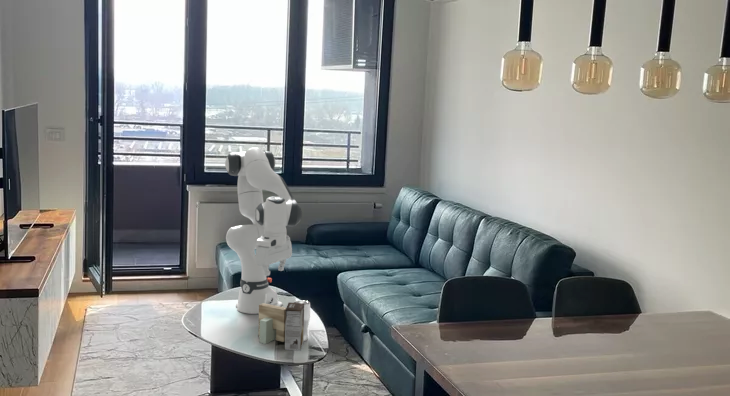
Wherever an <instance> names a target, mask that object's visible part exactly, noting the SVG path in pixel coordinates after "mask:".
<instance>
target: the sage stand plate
mask: <svg viewBox="0 0 730 396" xmlns="http://www.w3.org/2000/svg"><path fill="white" fill-rule="evenodd" d="M258 337H259V338H258V339H259V342H260V344H264V345H266V344H269V343H270V342H272V341H274V340H275V341H276V329H273V319H272V318H267V317H266V318H264V319H262V320H260V335H259V336H258Z"/></svg>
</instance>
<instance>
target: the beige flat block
mask: <svg viewBox="0 0 730 396" xmlns="http://www.w3.org/2000/svg"><path fill="white" fill-rule="evenodd" d="M286 308H287V307H284V306H275V305H270V304H265V303H263V304H260V305H259V313H258V329H257V330H258V334H257V336H258V337H259V335H260V320H262V319H264V318H266V317H267V318H272V319H273V329H276V339H275V341H277V342H282V343H285V321H286Z"/></svg>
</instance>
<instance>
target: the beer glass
mask: <svg viewBox="0 0 730 396" xmlns="http://www.w3.org/2000/svg"><path fill="white" fill-rule="evenodd" d="M293 303H304V337H303V343H304V342H307V341H308V340H309V334H308V333H309V332H308V331H309V325H310V320H311V319H310V318H311V302H310V301H308V300H295V301H293Z"/></svg>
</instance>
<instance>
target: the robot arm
mask: <svg viewBox="0 0 730 396" xmlns="http://www.w3.org/2000/svg"><path fill="white" fill-rule="evenodd" d="M224 163H225V164H224V165H225V166H224V167H225V169H226V171H227V174H228V175H230V176H234V177H237V184H236V185H237V198H238V199H237V200H238V209H239V213H240V214H241V215H242V216H244V217H245V218H247V219H249V220H250V221H251V222H252V224H240V225H234V226H231V227H230V228H229V229H228V230H227V231H226V235H225V241H226V244H227V246H228V247H229V248H230V249H231V250H232V251H234V252H235V253H236V255H237V256H238V258H239V260H240V265H241V266H240V267H241V278H240V282H239V284H240V288H239V290H238V298H237V303H236V305H235V307H236V308H237V309H236V310H237V311H238V312H240V313H242V314H249V315H251V314H252V315H254V314H256V315H257V314H258V315H259V305H260V304H263V303H265V304H270V305H275V306H280V307H282V306H283V302H282V301H280V300H278V292H277V291H275V290H274V289H273V288H272V287H270V283H272V280H273V278H272V277H269V276H271V270H270V265H272V264H276V263H278V262H279V265H278V267H277V268H278V269H277V270H278V271H280V272H282V271H284V270H285V265H286V262H287V259H290V258H291V257H292V255H293V246H292V241H291V237H290V236H289V235H288V234H287V232H288V231H287V227H296V226H297V225H298V224H299V223H300V222H301V220H302V218H303V212H302V207H301V206H300V204H299V203H298V201H296V199H295V198H294V196H293V194H292V192H291V189H290V188H289V187H288V184H287V183H286V181H285V179H284V178H283V177H282V176H281V175H279V174H278V173H276V171H274V170H275V167H276V158H275V155H274V153H272V151H269V150H263V149H262V148H261V147H260V148H259V147H255V146H253V147H250V148H248V149H246V151H238V152H236V151H234V152H229V153H228V154H227V156H226V158H225V162H224ZM263 191H268V192H271V193H274V194H275V195H274V196H273V195H272V196H269V197H267V198H266V200H265V201H264V195H263ZM276 195H277V196H276Z"/></svg>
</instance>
